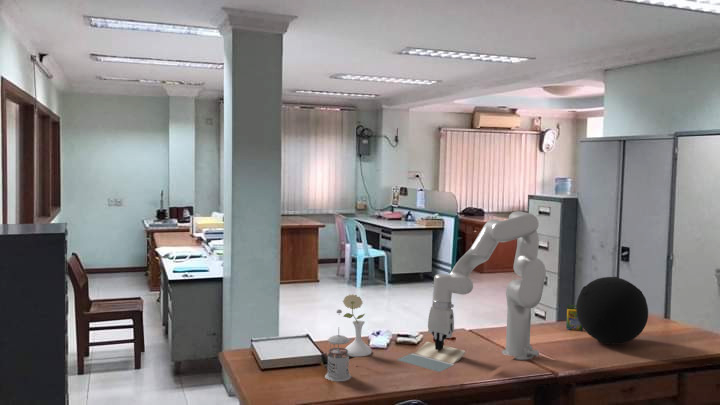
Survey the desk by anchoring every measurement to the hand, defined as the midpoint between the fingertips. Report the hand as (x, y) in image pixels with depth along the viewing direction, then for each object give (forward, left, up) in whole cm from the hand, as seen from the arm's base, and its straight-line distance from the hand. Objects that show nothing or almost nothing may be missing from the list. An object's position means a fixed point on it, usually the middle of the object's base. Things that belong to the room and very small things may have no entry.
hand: (439, 349), depth 234 cm
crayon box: (-27, -82, -4) cm, 86 cm away
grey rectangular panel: (-1, +12, -4) cm, 12 cm away
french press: (+17, +43, -4) cm, 47 cm away
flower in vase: (+27, +20, -4) cm, 34 cm away
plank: (-1, +1, -2) cm, 2 cm away
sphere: (-47, -70, -4) cm, 84 cm away
